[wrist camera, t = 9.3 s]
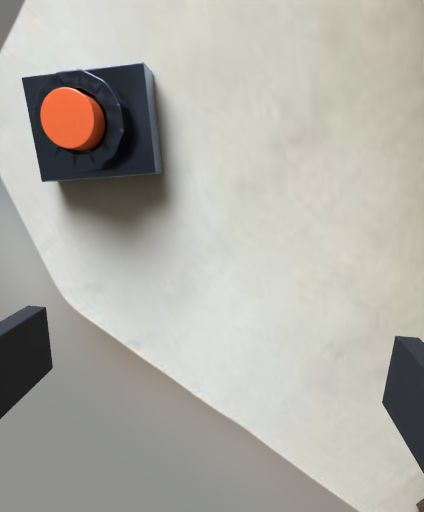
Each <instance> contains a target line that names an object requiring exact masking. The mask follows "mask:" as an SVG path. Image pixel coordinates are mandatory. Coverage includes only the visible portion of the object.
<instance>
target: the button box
mask: <svg viewBox="0 0 424 512" xmlns="http://www.w3.org/2000/svg"><path fill="white" fill-rule="evenodd" d="M22 82H23V87H24V92H25V97H26V102H27V107H28V112H29V117H30V122H31V128H32V133H33V138H34V143H35V148H36V153H37V158H38V163H39V168H40V173H41V179H42V182H56V181H70V180H83V179H96V178H109V177H122V176H135V175H148V174H161V173H163V170H162V160H161V151H160V141H159V132H158V122H157V113H156V103H155V94H154V84H153V75H152V71H151V70H150V69H149V68H148V67H147V66H146V65H145V64H144V63H136V64H128V65H120V66H112V67H104V68H96V69H88V70H81V69H78V70H71V71H63V72H57V73H56V74H48V75H40V76H32V77H25V78H22ZM62 87H68V88H73V89H75V90H77V91H79V92H81V93H83V94H85V95H87V96H89V97H91V98H92V99H93V100H95V101H96V102H97V104H98V105H99V106H100V108H101V110H102V112H103V115H104V119H105V130H104V134H103V137H102V139H101V140H100V142H99V143H98V144H97V145H96V146H95V147H93V148H91V149H89V150H85V151H80V150H73V149H67V148H63V147H60V146H58V145H56V144H55V143H54V142H53V141H51V140H50V138H49V137H48V136H47V134H46V133H45V131H44V129H43V126H42V123H41V107H42V104H43V101H44V99H45V98H46V96H47V95H48V94H49V93H50V92H52V91H53V90H55V89H58V88H62Z"/></svg>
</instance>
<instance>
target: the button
mask: <svg viewBox="0 0 424 512" xmlns="http://www.w3.org/2000/svg"><path fill="white" fill-rule="evenodd" d="M41 123H42V126H43V129H44V131H45V133H46V134H47V136H48V137H49V138H50V140H51V141H53V142H54V143H55V144H56V145H58V146H60V147H63V148H67V149H73V150H80V151H85V150H89V149H91V148H93V147H95V146H96V145H97V144H98V143H99V142H100V140H101V139H102V137H103V134H104V130H105V119H104V115H103V112H102V110H101V108H100V106H99V105H98V104H97V102H96V101H95V100H93V99H92V98H91V97H89V96H87V95H85V94H83V93H81V92H79V91H77V90H75V89H73V88H68V87H62V88H58V89H55V90H53V91H52V92H50V93H49V94H48V95H47V96H46V98H45V99H44V101H43V104H42V107H41Z"/></svg>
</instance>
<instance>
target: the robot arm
mask: <svg viewBox="0 0 424 512" xmlns="http://www.w3.org/2000/svg"><path fill="white" fill-rule="evenodd" d="M52 367H53V366H52V358H51V349H50V340H49V331H48V322H47V314H46V307H37V306H27V307H25V308H23V309H22V310H20V311H18V312H16V313H14V314H13V315H11V316H9V317H8V318H6V319H4V320H2V321H1V322H0V419H1V418H2V417H3V416H4V415H5V414H6V413H7V412H8V411H9V410H10V409H11V408H12V407H13V406H14V405H15V404H16V403H17V402H18V401H19V400H20V399H21V398H22V397H23V396H24V395H25V394H27V393H28V392H29V391H30V390H31V389H32V388H33V387H34V386H35V384H37V383H38V382H39V381H40V380H41V379H42V378H43V377H44V376H45V375H46V374H47V373H48V372H49V371H50V370H51V369H52ZM382 403H383V405H384V407H385V408H386V410H387V412H388V413H389V415H390V417H391V419H392V420H393V422H394V424H395V425H396V427H397V429H398V430H399V432H400V434H401V436H402V437H403V439H404V441H405V442H406V444H407V446H408V447H409V449H410V451H411V453H412V454H413V456H414V458H415V459H416V461H417V463H418V464H419V466H420V468H421V470H422V471H423V473H424V342H422V341H421V340H420V339H419V338H414V337H402V336H395V341H394V346H393V351H392V356H391V361H390V366H389V371H388V376H387V381H386V386H385V391H384V396H383V401H382Z"/></svg>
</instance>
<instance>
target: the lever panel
mask: <svg viewBox="0 0 424 512" xmlns="http://www.w3.org/2000/svg"><path fill="white" fill-rule="evenodd" d="M417 507H418V509H419V511H420V512H424V499H423V500H422V501H420V502H419V503H417Z"/></svg>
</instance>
